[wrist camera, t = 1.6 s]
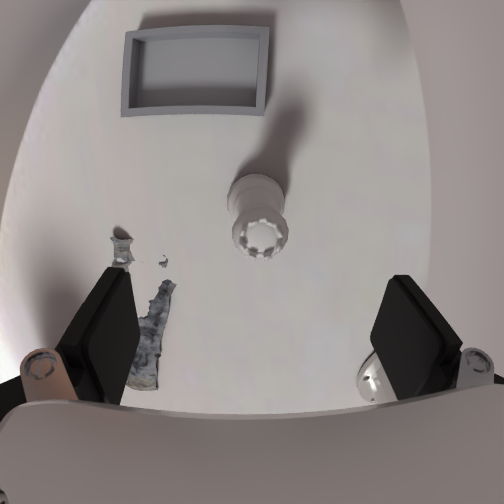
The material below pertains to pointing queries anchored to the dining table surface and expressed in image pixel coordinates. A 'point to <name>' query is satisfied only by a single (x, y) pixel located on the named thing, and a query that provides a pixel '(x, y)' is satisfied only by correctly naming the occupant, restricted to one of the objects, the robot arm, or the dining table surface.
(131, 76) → the gray rectangular open tray
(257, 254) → the rook chess piece
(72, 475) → the robot arm
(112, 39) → the dining table surface
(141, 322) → the driftwood
